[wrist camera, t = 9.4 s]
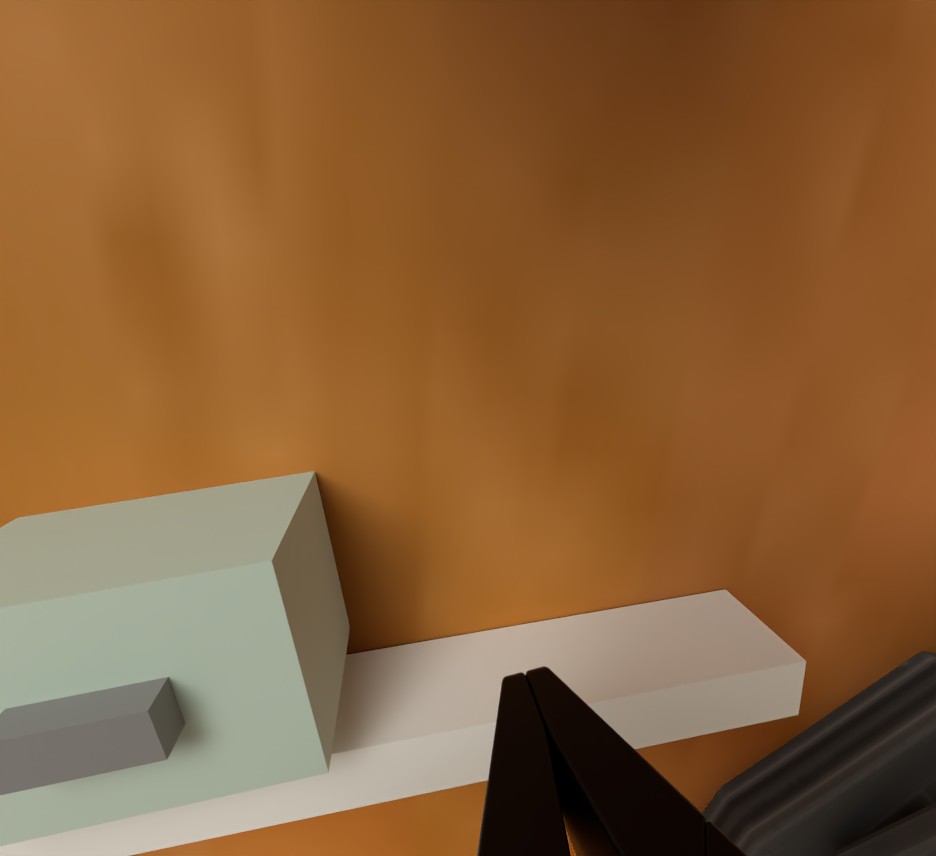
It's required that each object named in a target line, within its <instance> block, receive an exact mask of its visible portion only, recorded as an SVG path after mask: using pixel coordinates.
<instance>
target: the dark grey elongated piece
mask: <svg viewBox="0 0 936 856" xmlns="http://www.w3.org/2000/svg"><path fill="white" fill-rule="evenodd" d="M703 815H704V816H705V819H706V821H708V820H709V821H711V822H712V823H713V824H714V825H715V826H716V827H717V828H718V829H719V830H720V831H721V832H722V833H724V834H725V835H726V836H727V837H728V838H729V839H730V840H731V841H732V842H733V843H734V844H735V845H736V846H737V847H738V848H740V849H741V850H742V851H743V852H744V853H745V854H746V855H747V856H936V654H934V653H929V652H920V653H918V654H917V655H915V656H914V657H912V658H910V659H909V660H907V661H906V662H904V663H903V664H901V665H900V666H899V667H897V668H896V669H894V670H893V671H891V672H890V673H888V674H887V675H885V676H884V677H882V678H881V679H880V680H878V681H877V682H875V683H874V684H872V685H871V686H869V687H868V688H866V689H865V690H864V691H862V692H861V693H859V694H858V695H856V696H855V697H853V698H852V699H850V700H849V701H848V702H846V703H845V704H843V705H842V706H840V707H839V708H837V709H836V710H834V711H833V712H831V713H830V714H829V715H827V716H826V717H824V718H823V719H821V720H820V721H818V722H817V723H815V724H814V725H813V726H811V727H810V728H808V729H807V730H805V731H804V732H802V733H801V734H799V735H798V736H796V737H795V738H794V739H792V740H791V741H789V742H788V743H786V744H785V745H783V746H782V747H780V748H779V749H778V750H776V751H775V752H773V753H772V754H770V755H768V756H767V757H765V758H764V759H762V760H761V761H759V762H758V763H756V764H755V765H753V766H752V767H750V768H749V769H747V770H746V771H744V772H743V773H741V774H740V775H738V776H737V777H735V778H734V779H732V780H731V781H729V782H728V783H726V784H725V785H723V786H722V787H721V788H720V789H719V791H718V792H717V793H716V795H715V796H714V798H713V799H712V801H711V802H710V804H709V805H708V807H707V808H706V809H705V811H704V812H703Z"/></svg>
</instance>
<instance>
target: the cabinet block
mask: <svg viewBox="0 0 936 856" xmlns="http://www.w3.org/2000/svg"><path fill="white" fill-rule="evenodd" d="M349 631H350V625H349V621H348V616H347V612H346V608H345V603H344V599H343V594H342V590H341V585H340V581H339V576H338V572H337V567H336V563H335V559H334V554H333V550H332V545H331V541H330V536H329V532H328V527H327V523H326V519H325V514H324V510H323V505H322V501H321V496H320V492H319V487H318V483H317V478H316V474H315V471H313V472H307V473H301V474H294V475H288V476H282V477H275V478H269V479H262V480H256V481H250V482H243V483H237V484H230V485H224V486H218V487H211V488H205V489H199V490H192V491H186V492H179V493H173V494H167V495H160V496H154V497H147V498H141V499H135V500H128V501H122V502H115V503H109V504H103V505H96V506H90V507H84V508H77V509H71V510H64V511H58V512H52V513H45V514H39V515H32V516H26V517H20V518H16V519H15V520H13V521H11V522H9V523H8V524H6V525H4V526H3V527H1V528H0V846H4V845H9V844H13V843H18V842H22V841H27V840H31V839H36V838H40V837H44V836H49V835H53V834H58V833H62V832H67V831H71V830H76V829H80V828H85V827H89V826H93V825H98V824H102V823H107V822H111V821H116V820H120V819H125V818H129V817H134V816H138V815H142V814H147V813H151V812H156V811H160V810H165V809H169V808H174V807H178V806H183V805H187V804H191V803H196V802H200V801H205V800H209V799H214V798H218V797H223V796H227V795H232V794H236V793H241V792H245V791H249V790H254V789H258V788H263V787H267V786H272V785H276V784H281V783H285V782H290V781H294V780H298V779H303V778H307V777H312V776H316V775H321V774H325V773H329V767H330V760H331V753H332V746H333V739H334V733H335V726H336V719H337V712H338V706H339V699H340V692H341V685H342V678H343V672H344V665H345V658H346V651H347V645H348V638H349Z"/></svg>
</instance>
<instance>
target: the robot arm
mask: <svg viewBox="0 0 936 856" xmlns="http://www.w3.org/2000/svg"><path fill="white" fill-rule="evenodd" d="M565 827H566V829H567V832H568V835H569V837H570V840H571V842H572V845H573V847H574V850H575V852H576V855H577V856H747V855H746V854H745V853H744V852H743V851H742V850H741V849H740V848H738V847H737V846H736V845H735V844H734V843H733V842H732V841H731V840H730V839H729V838H728V837H727V836H726V835H725V834H724V833H722V832H721V831H720V830H719V829H718V828H717V827H716V826H715V825H714V824H713V823H712V822H711V821H709V820H708V821H706V819H705V816H704V815H703V814H702V813H701V812H700V811H699V810H698V809H697V808H696V807H695V806H694V805H693V804H692V803H691V802H690V801H688V800H687V799H686V798H685V797H684V796H683V795H682V794H681V793H680V792H679V791H678V790H677V789H676V788H675V787H674V786H673V785H672V784H671V783H670V782H668V781H667V780H666V779H665V778H664V777H663V776H662V775H661V774H660V773H659V772H658V771H657V770H656V769H655V768H654V767H653V766H652V765H651V764H649V763H648V762H647V761H646V760H645V759H644V758H643V757H642V756H641V755H640V754H639V753H638V752H637V751H636V750H635V749H634V748H633V747H632V746H631V745H629V744H628V743H627V742H626V741H625V740H624V739H623V738H622V737H621V736H620V735H619V734H618V733H617V732H616V731H615V730H614V729H613V728H612V727H610V726H609V725H608V724H607V723H606V722H605V721H604V720H603V719H602V718H601V717H600V716H599V715H598V714H597V713H596V712H595V711H594V710H593V709H592V708H590V707H589V706H588V705H587V704H586V703H585V702H584V701H583V700H582V699H581V698H580V697H579V696H578V695H577V694H576V693H575V692H574V691H573V690H571V689H570V688H569V687H568V686H567V685H566V684H565V683H564V682H563V681H562V680H561V679H560V678H559V677H558V676H557V675H556V674H555V673H554V672H553V671H551V670H550V669H549V668H548V667H545V666H543V667H539V668H536V669H532V670H528V671H527V672H526V675H525V674H524V673H522V672H520V673H516V674H512V675H508V676H505V677H504V678H503V680H502V685H501V692H500V699H499V706H498V713H497V720H496V727H495V734H494V741H493V748H492V755H491V762H490V769H489V776H488V783H487V790H486V798H485V805H484V812H483V819H482V826H481V833H480V840H479V847H478V854H477V856H571V855H570V850H569V845H568V840H567V834H566V829H565Z"/></svg>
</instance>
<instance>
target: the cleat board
mask: <svg viewBox="0 0 936 856" xmlns="http://www.w3.org/2000/svg"><path fill="white" fill-rule="evenodd" d="M543 666H545V667H548V668H549V669H550V670H551V671H553V672H554V673H555V674H556V675H557V676H558V677H559V678H560V679H561V680H562V681H563V682H564V683H565V684H566V685H567V686H568V687H569V688H570V689H571V690H573V691H574V692H575V693H576V694H577V695H578V696H579V697H580V698H581V699H582V700H583V701H584V702H585V703H586V704H587V705H588V706H589V707H590V708H592V709H593V710H594V711H595V712H596V713H597V714H598V715H599V716H600V717H601V718H602V719H603V720H604V721H605V722H606V723H607V724H608V725H609V726H610V727H612V728H613V729H614V730H615V731H616V732H617V733H618V734H619V735H620V736H621V737H622V738H623V739H624V740H625V741H626V742H627V743H628V744H629V745H631V746H632V747H633V748H634V749H639V748H643V747H648V746H653V745H658V744H662V743H667V742H672V741H677V740H681V739H686V738H691V737H696V736H700V735H705V734H710V733H715V732H720V731H724V730H729V729H734V728H739V727H743V726H748V725H753V724H758V723H762V722H767V721H772V720H777V719H781V718H786V717H791V716H796V715H798V714H799V708H800V701H801V694H802V687H803V681H804V674H805V667H806V660H804V659H803V658H802V657H801V656H800V655H799V654H798V653H797V652H795V651H794V650H793V649H792V648H791V647H790V646H789V645H788V644H787V643H785V642H784V641H783V640H782V639H781V638H780V637H779V636H778V635H776V634H775V633H774V632H773V631H772V630H771V629H770V628H769V627H767V626H766V625H765V624H764V623H763V622H762V621H761V620H760V619H758V618H757V617H756V616H755V615H754V614H753V613H752V612H751V611H749V610H748V609H747V608H746V607H745V606H744V605H743V604H742V603H740V602H739V601H738V600H737V599H736V598H735V597H734V596H733V595H731V594H730V593H729V592H728V591H727V590H726V589H725V590H719V591H713V592H708V593H702V594H696V595H690V596H684V597H679V598H673V599H667V600H661V601H655V602H650V603H644V604H638V605H632V606H626V607H621V608H615V609H609V610H603V611H598V612H592V613H586V614H580V615H574V616H569V617H563V618H557V619H551V620H545V621H540V622H534V623H528V624H522V625H517V626H511V627H505V628H499V629H493V630H488V631H482V632H476V633H470V634H464V635H459V636H453V637H447V638H441V639H435V640H430V641H424V642H418V643H412V644H407V645H401V646H395V647H389V648H383V649H378V650H372V651H366V652H360V653H354V654H349V655H346V658H345V665H344V672H343V678H342V685H341V692H340V699H339V706H338V712H337V719H336V726H335V733H334V739H333V746H332V753H331V760H330V767H329V773H325V774H321V775H316V776H312V777H307V778H303V779H298V780H294V781H290V782H285V783H281V784H276V785H272V786H267V787H263V788H258V789H254V790H249V791H245V792H241V793H236V794H232V795H227V796H223V797H218V798H214V799H209V800H205V801H200V802H196V803H191V804H187V805H183V806H178V807H174V808H169V809H165V810H160V811H156V812H151V813H147V814H142V815H138V816H134V817H129V818H125V819H120V820H116V821H111V822H107V823H102V824H98V825H93V826H89V827H85V828H80V829H76V830H71V831H67V832H62V833H58V834H53V835H49V836H44V837H40V838H36V839H31V840H27V841H22V842H18V843H13V844H9V845H4V846H0V856H130V855H135V854H139V853H144V852H149V851H154V850H158V849H163V848H168V847H173V846H177V845H182V844H187V843H192V842H197V841H201V840H206V839H211V838H216V837H220V836H225V835H230V834H235V833H239V832H244V831H249V830H254V829H258V828H263V827H268V826H273V825H277V824H282V823H287V822H292V821H296V820H301V819H306V818H311V817H315V816H320V815H325V814H330V813H334V812H339V811H344V810H349V809H353V808H358V807H363V806H368V805H372V804H377V803H382V802H387V801H391V800H396V799H401V798H406V797H410V796H415V795H420V794H425V793H429V792H434V791H439V790H444V789H448V788H453V787H458V786H463V785H468V784H472V783H477V782H482V781H487V780H488V776H489V769H490V762H491V755H492V748H493V741H494V734H495V727H496V720H497V713H498V706H499V699H500V692H501V685H502V680H503V678H504V677H505V676H508V675H512V674H516V673H520V672H522V673H524V674H525V675H526V672H527V671H528V670H532V669H536V668H539V667H543Z"/></svg>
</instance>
